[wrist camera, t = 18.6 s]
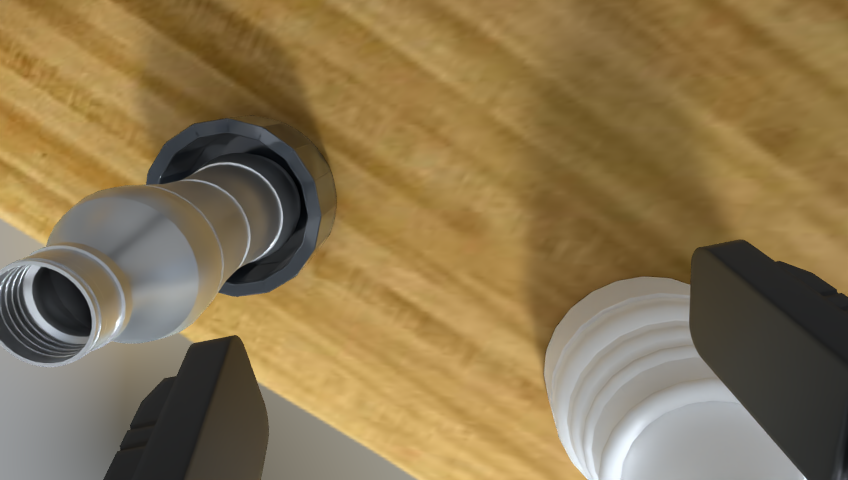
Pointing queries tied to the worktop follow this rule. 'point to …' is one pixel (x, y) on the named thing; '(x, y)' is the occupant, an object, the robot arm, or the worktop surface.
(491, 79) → the worktop surface
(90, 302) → the silver bottle
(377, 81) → the worktop surface
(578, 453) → the honey pot
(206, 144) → the socket
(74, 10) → the worktop surface
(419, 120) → the worktop surface
